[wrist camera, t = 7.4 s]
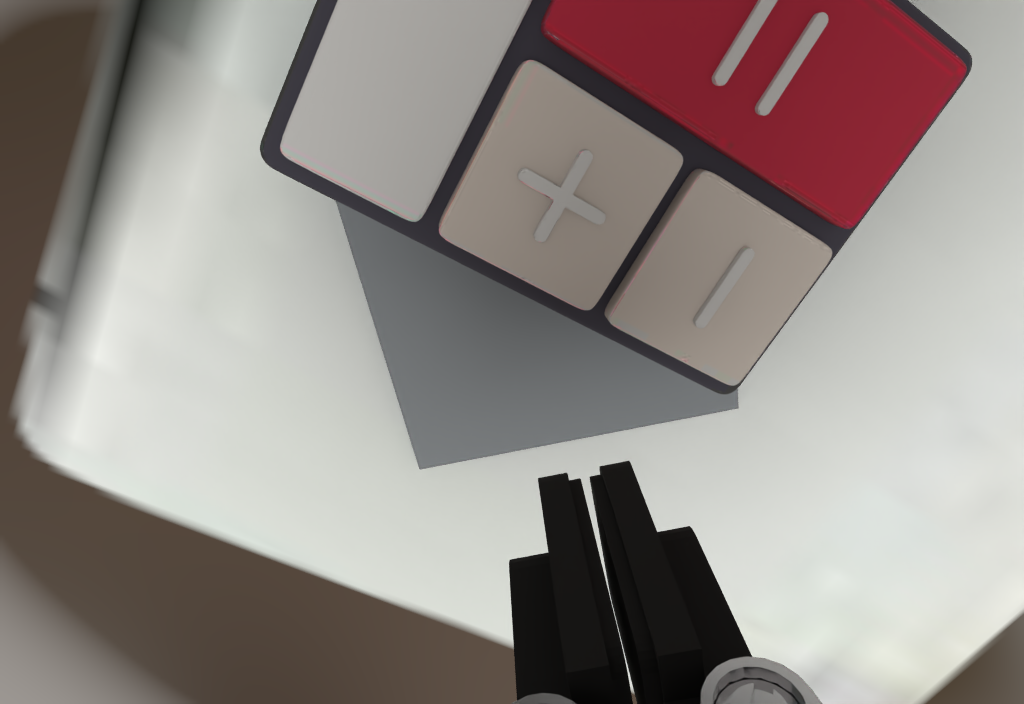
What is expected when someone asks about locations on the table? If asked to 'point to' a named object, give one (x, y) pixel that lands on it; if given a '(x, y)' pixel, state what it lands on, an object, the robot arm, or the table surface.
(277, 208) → the table surface
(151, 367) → the table surface
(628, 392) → the mat
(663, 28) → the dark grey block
